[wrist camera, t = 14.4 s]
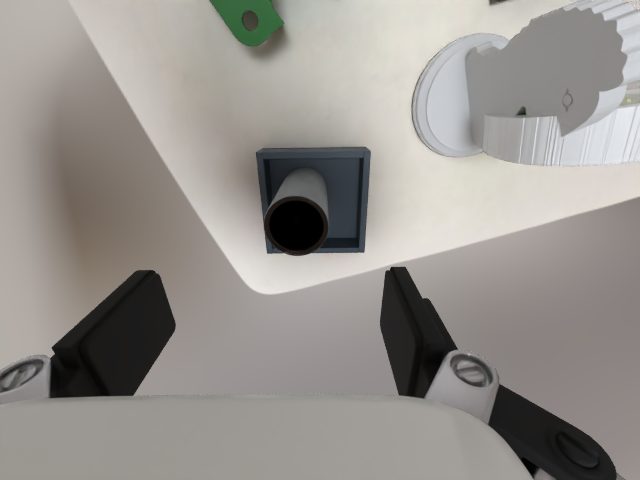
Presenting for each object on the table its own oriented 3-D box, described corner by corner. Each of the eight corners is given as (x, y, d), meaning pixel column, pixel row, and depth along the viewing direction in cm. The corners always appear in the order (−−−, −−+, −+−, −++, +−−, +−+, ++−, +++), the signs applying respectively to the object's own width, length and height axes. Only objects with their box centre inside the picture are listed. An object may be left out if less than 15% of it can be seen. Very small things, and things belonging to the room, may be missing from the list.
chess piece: (422, 170, 27) (519, 228, 14) (402, 61, 24) (511, -6, 10) (524, 136, 26) (743, 164, 13) (521, 14, 22) (838, -139, 9)
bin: (271, 241, 31) (267, 253, 29) (262, 148, 27) (255, 152, 24) (360, 240, 31) (364, 252, 28) (365, 146, 27) (370, 151, 24)
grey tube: (273, 184, 28) (249, 220, 19) (309, 157, 27) (302, 182, 17) (300, 217, 29) (290, 267, 20) (335, 194, 28) (341, 234, 19)
